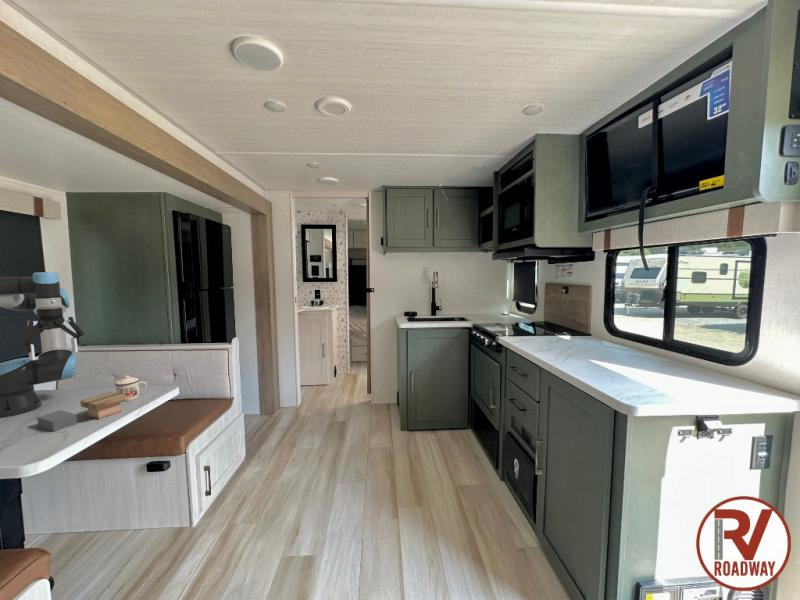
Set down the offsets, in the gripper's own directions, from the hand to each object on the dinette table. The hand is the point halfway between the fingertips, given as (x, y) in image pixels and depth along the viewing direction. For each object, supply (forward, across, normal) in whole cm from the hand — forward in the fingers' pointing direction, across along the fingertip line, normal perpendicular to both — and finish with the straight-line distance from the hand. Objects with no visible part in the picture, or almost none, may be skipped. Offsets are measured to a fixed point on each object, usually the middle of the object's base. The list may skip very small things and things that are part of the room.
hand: (54, 355), depth 139 cm
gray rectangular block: (+27, -6, -13) cm, 30 cm away
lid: (+22, +7, -19) cm, 30 cm away
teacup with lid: (+27, +23, -9) cm, 36 cm away
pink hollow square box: (+27, +7, -19) cm, 33 cm away
